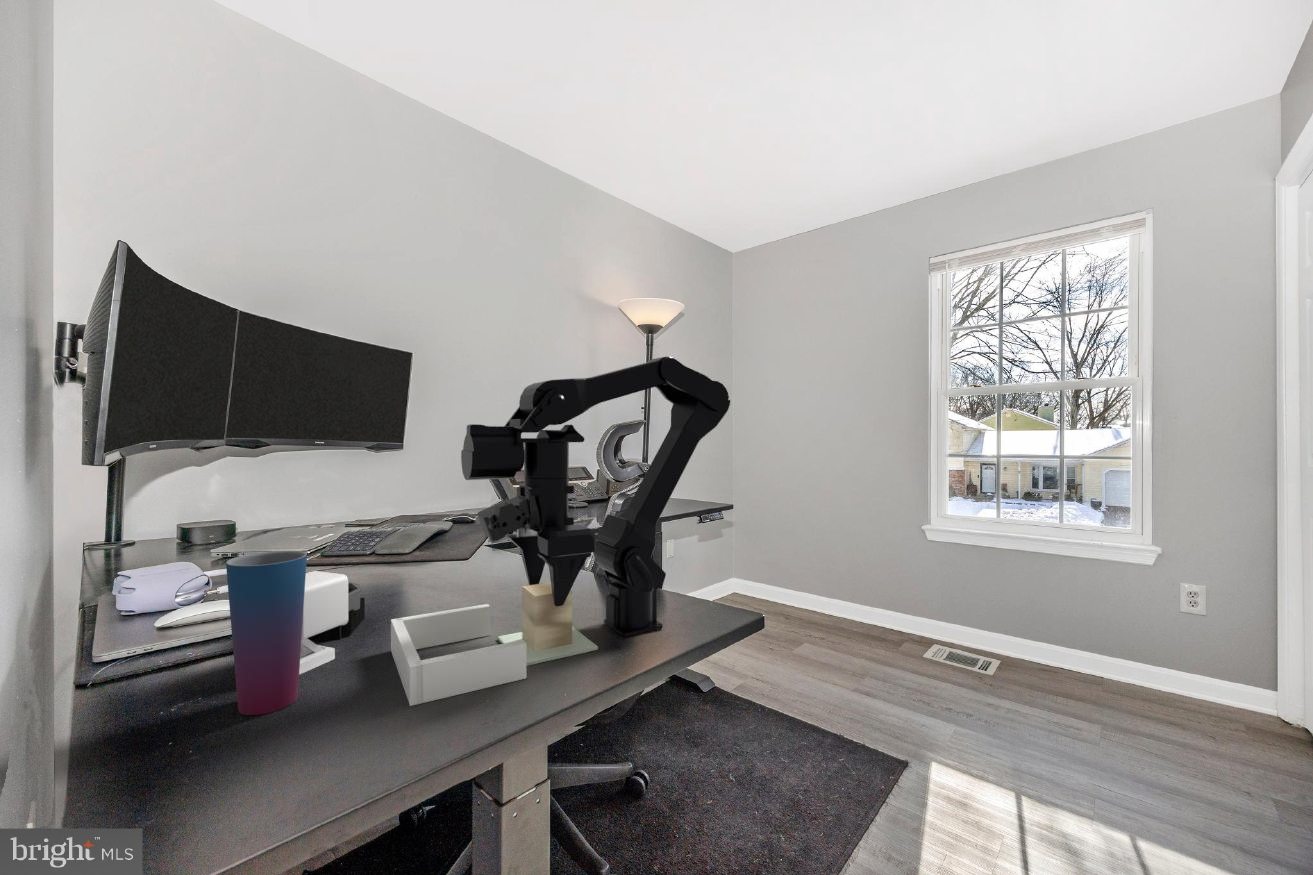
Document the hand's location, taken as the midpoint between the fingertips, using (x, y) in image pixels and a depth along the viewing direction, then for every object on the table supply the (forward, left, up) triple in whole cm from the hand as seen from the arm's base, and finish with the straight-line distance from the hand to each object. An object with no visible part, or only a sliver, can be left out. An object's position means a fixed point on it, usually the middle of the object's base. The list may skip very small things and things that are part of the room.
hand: (545, 596), depth 73 cm
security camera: (+27, -10, -7) cm, 29 cm away
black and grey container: (+25, -21, -7) cm, 34 cm away
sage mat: (0, 0, -6) cm, 6 cm away
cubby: (+12, 0, -6) cm, 13 cm away
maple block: (0, 0, -6) cm, 6 cm away
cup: (+30, 0, -7) cm, 31 cm away
